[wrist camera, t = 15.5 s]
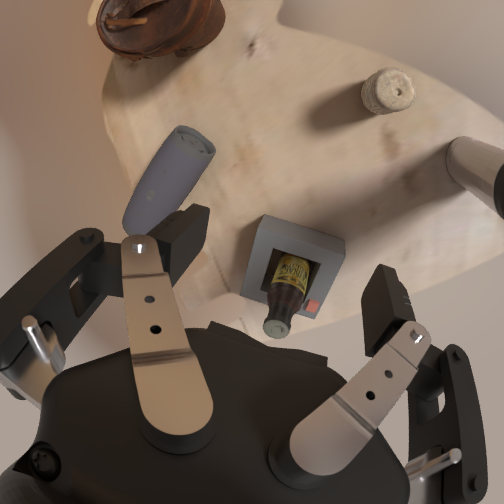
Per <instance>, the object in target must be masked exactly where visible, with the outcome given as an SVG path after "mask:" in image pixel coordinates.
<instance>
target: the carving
mask: <svg viewBox="0 0 504 504" xmlns="http://www.w3.org/2000/svg"><path fill="white" fill-rule="evenodd" d="M415 97H416V88H415V86H414V83H413V81H412V79H411V78H410V76H409V75H408V74H407V73H406V72H404V71H403V70H401V69H398V68H394V67H387V68H383V69H381V70H379V71H378V72H377V73H375V74H373V75H371V76H370V77H369V78H368V79H367V80H366V81H365V83H364V84H363V87H362V90H361V98H362V102H363V104H364V106H365V107H366V108H367V109H368V110H370V111H371V112H374V113H376V114H379V115H386V114H390V113H393V112H399V111H402V110H404V109H407V108H408V107H410V106H411V105H412V103H413V102H414V100H415Z"/></svg>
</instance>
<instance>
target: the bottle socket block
mask: <svg viewBox="0 0 504 504" xmlns="http://www.w3.org/2000/svg"><path fill="white" fill-rule="evenodd" d="M274 248H275V249H278V250H281V251H284V252H287V253H290V254H293V255H296V256H299V257H303V258H306V259H309V260H312V261H315V262H316V263H315V266H314V268H313V271H312V273H311V275H310V278H309V280H308V282H307V286H306V291H305V296H304V298H303V302H302V305H301V309H300V310H299V311H298V312H297V313H295V314H299V315H302V316H305V317H308V318H312V319H315V317H316V315H317V314H318V312H319V310H320V308H321V306H322V304H323V302H324V300H325V298H326V296H327V294H328V292H329V290H330V288H331V286H332V284H333V282H334V280H335V278H336V276H337V273H338V271H339V269H340V267H341V265H342V263H343V261H344V259H345V256H346V254H345V244H344V240H342V239H339V238H337V237H334V236H331V235H328V234H325V233H322V232H319V231H316V230H313V229H310V228H307V227H304V226H301V225H297V224H294V223H291V222H288V221H285V220H282V219H279V218H276V217H272V216H269V215H266V214H265V215H264V216H263V218H262V220H261V222H260V224H259V226H258V229H257V233H256V236H255V240H254V244H253V248H252V252H251V255H250V259H249V263H248V267H247V271H246V274H245V278H244V282H243V286H242V290H241V294H240V296H243V297H246V298H249V299H252V300H255V301H258V302H261V303H264V304H267V305H268V303H267V294H268V292H269V290H270V285H271V283H272V280H273V277H274V276H273V275H270V274H267V273H266V271H267V268H268V265H269V261H270V258H271V255H272V252H273V249H274Z"/></svg>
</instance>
